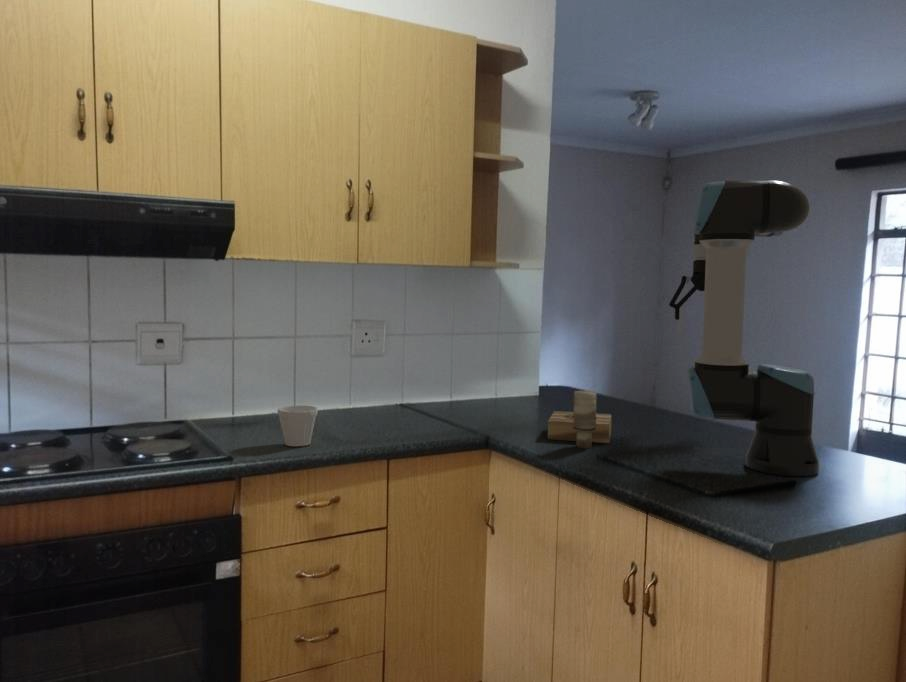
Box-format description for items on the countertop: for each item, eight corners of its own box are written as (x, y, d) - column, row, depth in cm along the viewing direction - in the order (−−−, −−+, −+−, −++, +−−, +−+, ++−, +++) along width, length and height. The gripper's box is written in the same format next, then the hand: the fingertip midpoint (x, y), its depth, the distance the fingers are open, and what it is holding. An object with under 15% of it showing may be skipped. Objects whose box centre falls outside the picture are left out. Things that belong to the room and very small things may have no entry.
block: (608, 443, 186) (609, 424, 186) (547, 439, 190) (548, 420, 190) (610, 431, 201) (611, 414, 200) (554, 428, 205) (554, 411, 204)
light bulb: (594, 449, 179) (596, 394, 178) (571, 448, 180) (573, 393, 179) (595, 444, 184) (597, 391, 183) (573, 443, 186) (575, 390, 184)
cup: (324, 442, 184) (324, 406, 183) (306, 450, 174) (306, 413, 173) (289, 439, 186) (289, 404, 186) (270, 447, 177) (269, 410, 176)
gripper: (750, 260, 209) (747, 332, 211) (662, 259, 216) (659, 329, 217) (754, 259, 202) (751, 333, 204) (662, 258, 208) (660, 331, 210)
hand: (703, 331), depth 211 cm, fingers open, 13 cm apart
